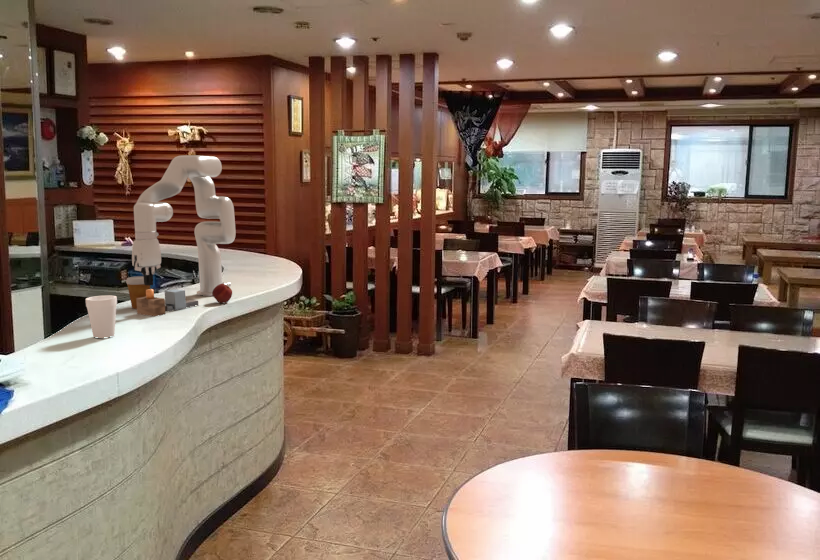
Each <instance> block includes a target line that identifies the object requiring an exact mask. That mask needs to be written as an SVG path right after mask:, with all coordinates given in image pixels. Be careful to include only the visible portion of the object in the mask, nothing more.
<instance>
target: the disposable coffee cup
mask: <svg viewBox="0 0 820 560" xmlns="http://www.w3.org/2000/svg"><path fill="white" fill-rule="evenodd" d="M125 283H126V284H127V289H128V294H129V299H130V304H131V308H132V309H134V310H137V302H136V298H140V297H146V290H147V289H151V285H150V286H148V285H144V275H136V276H131V277H130V276H129V277H127V278H126V281H125Z"/></svg>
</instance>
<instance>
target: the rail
mask: <svg viewBox="0 0 820 560" xmlns="http://www.w3.org/2000/svg"><path fill="white" fill-rule="evenodd" d="M195 305H198V306H199V300H195V299H190V300H186V307H189V308H191V307H190V306H194V307H196V306H195ZM172 310H174V311H178V310H177V309H174V305H172V304H167V305H165V312H166V311H169V312H173V311H172Z"/></svg>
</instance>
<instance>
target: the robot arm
mask: <svg viewBox="0 0 820 560" xmlns="http://www.w3.org/2000/svg"><path fill="white" fill-rule="evenodd" d="M222 169H223V167H222V162H221V160H220V159H219V158H218V157H216V156H209V155H197V154H196V155H195V154H194V155H192V154H191V155H189V154H188V155H178V156H175V157H174V158H172V160H171V161H170V163H169V164H168V167H167V169H166V170H165V172H164V173H163V176H162V177H161V179H160V180H159V181H157V182H155V183H154V184H152V185H151V186H148V188H147V189H145V190H144V191H143V192H142V193H141V194H140V195H139V197H138V199H137V201H136V202H135V203H134V205H133V218H134V220H133V221H134V236H135V237H134V238H135V239H134V240H133V242H132V249H131V251H132V252H131V263H132V266H133V267H134V271H137V272H140V273H141V274H142V276H144V285H148V286H150V287H151V286H153V285H154V275H155V273H156V271H157V270H158V269H161V267H162V266H161V264H162V253H161V246H160V241H159V239H158V236H159V232H157V222H158V223H159V222H161V223H163V222H168V221H170V220H171V218H172V217H173V216H174V209H173V207H172V206H171V204H170V203H167V202H165V201H162V200H165V199H168V198H172V197H174V196H176V195H178V194H180V193H181V192H182V189H183V188H184V186H185V184H186V183H187V181H188V179H189V180H190V181H191V183H192V186H193V190H194V201H195V210H196V213H197V216H198V217H199V218H201V219H207V220H208V219H209V220H210V219H214V220H215V219H219V221H201V222H199V223H197V224H196V225H195V227H194V236H195V237H194V238H195V242H196V246H197V255H198V257H197V258H198V273H199V274H198V276H199V290H197V291H196V295H197V296H200V295H203V296H204V297H211V296H212V297H213V295H212V292H213V289H214V288H215V287H216V286H217V285H219V284H225V285H227V286H228V287H230V288H231V282H223V270H222V253H221V251H220V248H219V247H218V245H219V244H220V245H229V244H232V243H233V242H234V241H235V238H236V233H237V232H236V221H235V220H236V219H235V216H236V215H235V207H234V203H233V201H232V200H231V198H229V197H227V196H217V195H216V187H215V183H214V180H213V179H212V178H216V177H218V176H220V175H221V173H222V171H223V170H222ZM203 296H202V297H203Z"/></svg>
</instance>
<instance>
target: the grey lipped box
mask: <svg viewBox="0 0 820 560" xmlns="http://www.w3.org/2000/svg"><path fill="white" fill-rule="evenodd" d="M164 301H165V305H167V304H172V305H174V309H179V310H182V309H181V308H184V309H187V308H186V301H187V300H186V290H185V289H177V288H174V289H173V288H172V289H167V290H164Z"/></svg>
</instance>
